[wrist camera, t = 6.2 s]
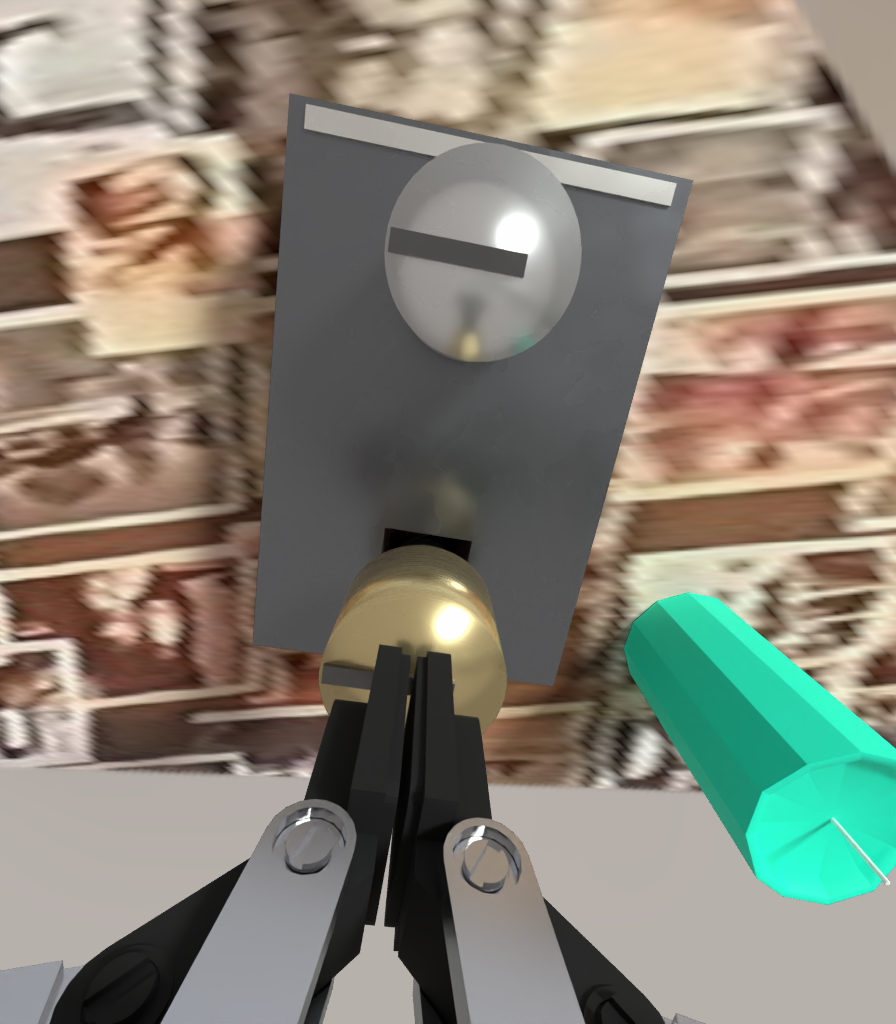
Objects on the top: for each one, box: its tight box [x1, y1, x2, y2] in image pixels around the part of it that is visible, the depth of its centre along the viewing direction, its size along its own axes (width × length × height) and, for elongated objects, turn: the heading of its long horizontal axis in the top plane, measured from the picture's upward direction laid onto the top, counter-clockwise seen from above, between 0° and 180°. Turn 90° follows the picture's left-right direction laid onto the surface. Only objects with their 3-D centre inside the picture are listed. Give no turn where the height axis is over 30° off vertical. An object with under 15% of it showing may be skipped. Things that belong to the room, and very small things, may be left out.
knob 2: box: [319, 536, 507, 735], centre depth 16 cm, size 5×5×8 cm
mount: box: [253, 94, 693, 686], centre depth 19 cm, size 12×18×5 cm, turn 170°
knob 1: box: [384, 143, 582, 362], centre depth 15 cm, size 5×5×8 cm
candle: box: [624, 593, 896, 905], centre depth 19 cm, size 6×6×12 cm
